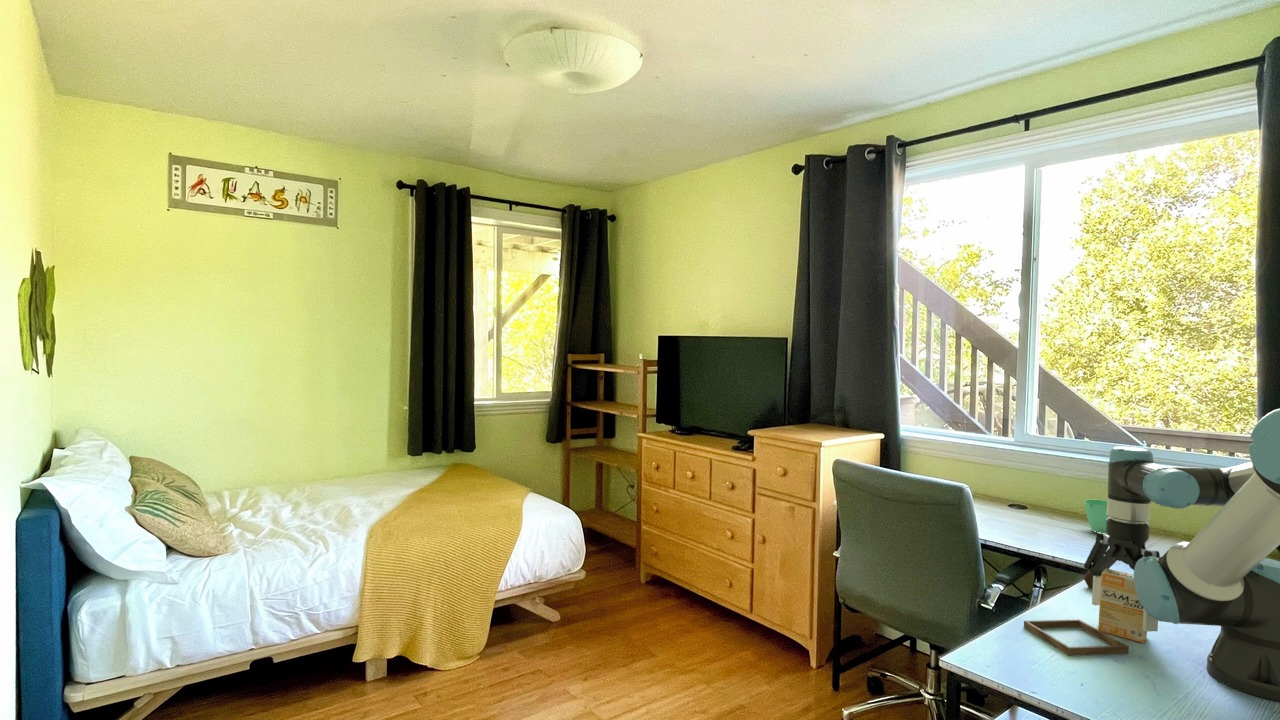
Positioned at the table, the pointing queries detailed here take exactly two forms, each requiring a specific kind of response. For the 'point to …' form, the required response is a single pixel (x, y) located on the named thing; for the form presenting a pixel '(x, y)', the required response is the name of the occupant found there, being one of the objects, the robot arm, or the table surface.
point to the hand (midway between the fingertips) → (1123, 617)
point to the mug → (1097, 514)
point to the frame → (1115, 647)
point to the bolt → (1088, 579)
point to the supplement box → (1120, 606)
